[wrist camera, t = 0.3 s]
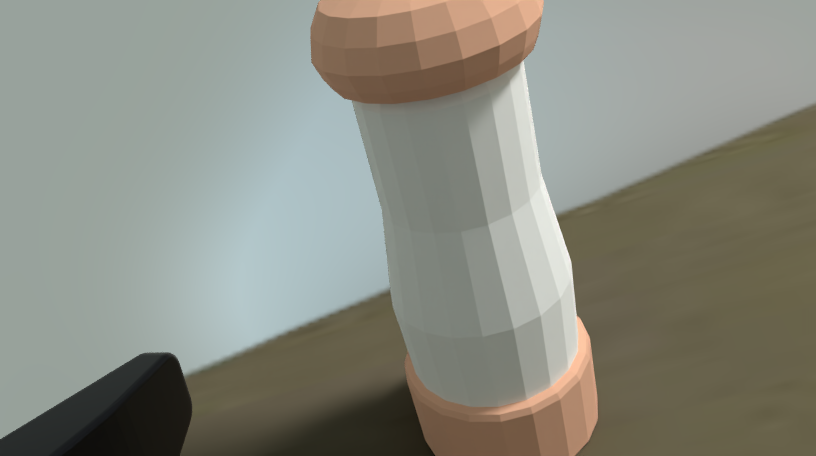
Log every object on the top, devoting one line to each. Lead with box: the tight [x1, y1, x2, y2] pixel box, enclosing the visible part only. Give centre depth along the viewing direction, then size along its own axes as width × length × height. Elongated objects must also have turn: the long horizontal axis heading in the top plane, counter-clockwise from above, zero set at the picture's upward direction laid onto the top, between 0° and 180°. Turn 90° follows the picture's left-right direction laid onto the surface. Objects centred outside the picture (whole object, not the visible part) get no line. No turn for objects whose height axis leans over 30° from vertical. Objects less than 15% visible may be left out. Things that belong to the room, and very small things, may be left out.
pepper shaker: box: [311, 0, 598, 456], centre depth 26 cm, size 7×7×19 cm
